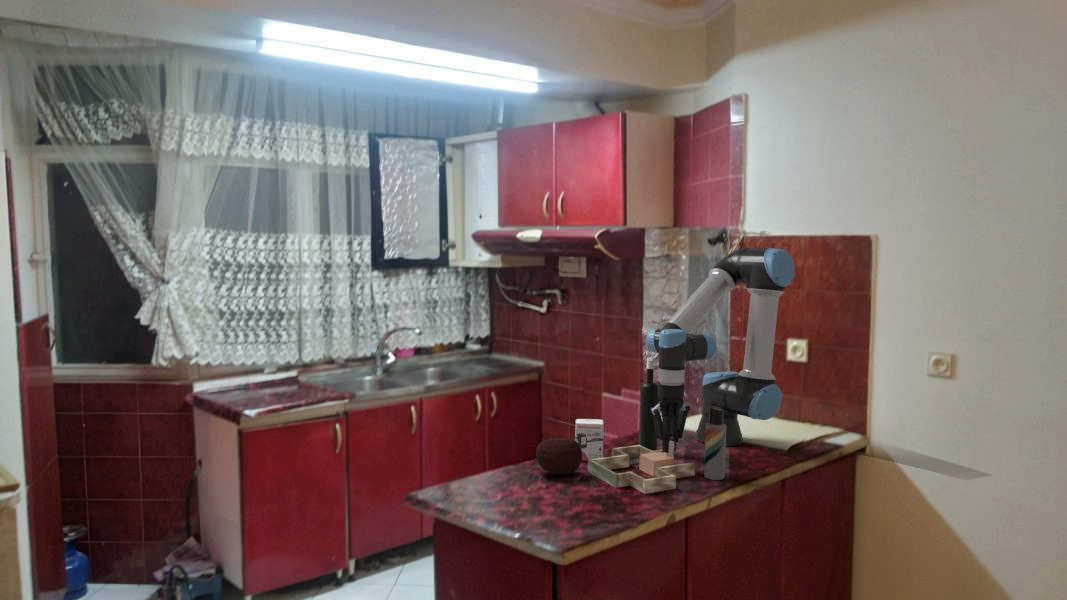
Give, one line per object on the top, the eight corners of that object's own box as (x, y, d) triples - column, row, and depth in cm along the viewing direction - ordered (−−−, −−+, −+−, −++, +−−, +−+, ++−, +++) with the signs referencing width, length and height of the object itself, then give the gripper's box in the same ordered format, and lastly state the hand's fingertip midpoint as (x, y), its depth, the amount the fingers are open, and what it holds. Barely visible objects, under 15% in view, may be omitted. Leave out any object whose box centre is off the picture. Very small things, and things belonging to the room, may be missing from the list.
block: (659, 466, 212) (659, 451, 212) (673, 473, 206) (674, 458, 205) (639, 469, 209) (639, 454, 209) (653, 476, 203) (653, 461, 202)
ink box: (574, 461, 216) (575, 422, 215) (574, 456, 221) (575, 418, 220) (603, 462, 216) (603, 423, 215) (602, 457, 221) (603, 419, 220)
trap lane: (649, 454, 224) (650, 443, 224) (711, 482, 198) (711, 470, 198) (575, 464, 212) (575, 453, 212) (630, 496, 186) (630, 483, 186)
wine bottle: (651, 448, 230) (654, 356, 228) (660, 453, 225) (663, 358, 222) (635, 450, 228) (638, 356, 226) (644, 455, 223) (646, 359, 221)
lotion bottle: (710, 472, 207) (713, 404, 205) (728, 477, 203) (730, 407, 201) (699, 476, 203) (702, 407, 201) (717, 481, 199) (720, 410, 197)
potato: (536, 467, 209) (536, 432, 209) (581, 468, 209) (582, 433, 208) (535, 479, 198) (535, 443, 198) (582, 481, 198) (583, 444, 197)
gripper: (681, 379, 213) (678, 457, 215) (644, 382, 208) (642, 462, 210) (697, 383, 207) (694, 464, 209) (660, 387, 201) (657, 469, 203)
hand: (668, 463), depth 209 cm, fingers closed
